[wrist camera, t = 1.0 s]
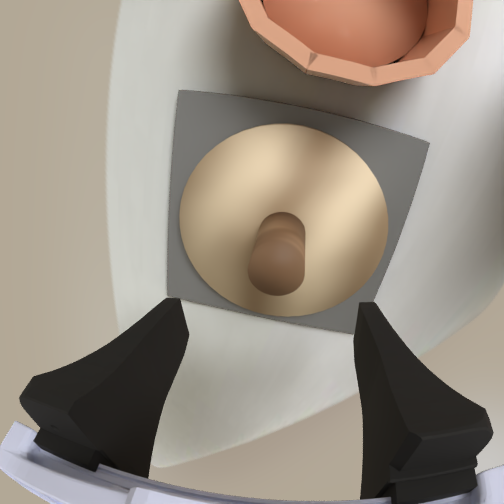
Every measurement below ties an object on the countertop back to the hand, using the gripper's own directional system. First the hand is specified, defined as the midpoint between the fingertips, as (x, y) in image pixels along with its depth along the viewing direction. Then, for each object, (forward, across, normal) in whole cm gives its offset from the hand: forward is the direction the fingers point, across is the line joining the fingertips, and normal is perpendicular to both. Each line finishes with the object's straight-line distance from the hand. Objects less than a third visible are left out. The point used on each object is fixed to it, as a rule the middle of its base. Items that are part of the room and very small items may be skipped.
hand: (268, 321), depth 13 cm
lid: (+9, 0, 0) cm, 9 cm away
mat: (+9, 0, 0) cm, 9 cm away
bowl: (+9, -4, -14) cm, 18 cm away
